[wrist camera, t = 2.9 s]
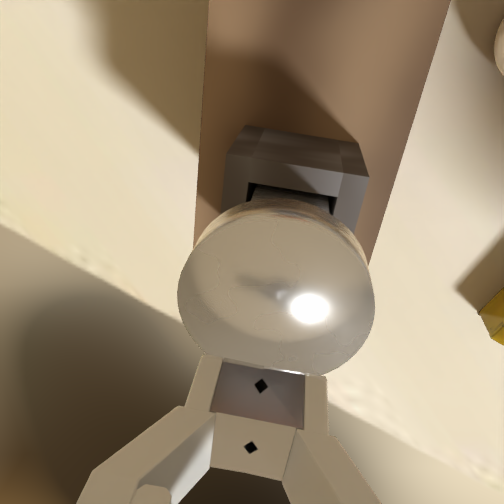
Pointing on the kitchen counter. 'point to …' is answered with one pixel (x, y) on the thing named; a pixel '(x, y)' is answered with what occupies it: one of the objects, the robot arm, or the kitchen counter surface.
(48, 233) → the kitchen counter surface
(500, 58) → the plastic bottle
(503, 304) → the medication box
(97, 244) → the kitchen counter surface
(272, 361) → the grey plunger
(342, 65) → the stand
